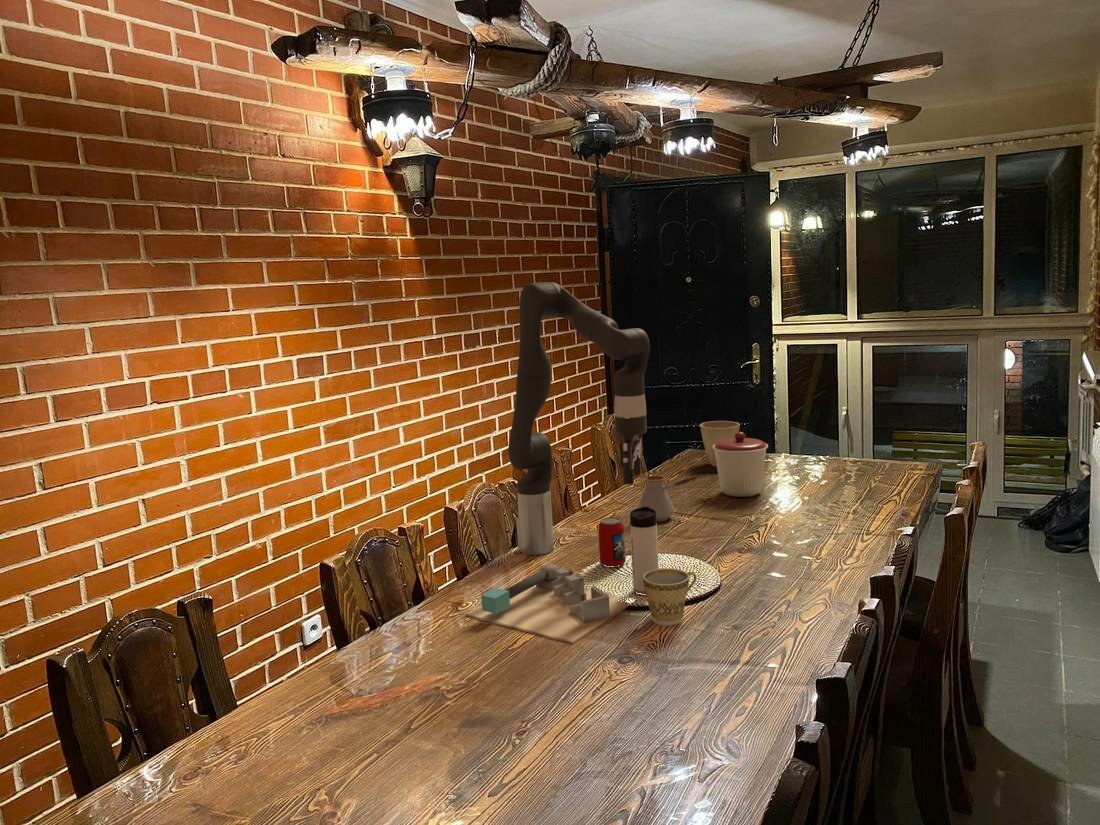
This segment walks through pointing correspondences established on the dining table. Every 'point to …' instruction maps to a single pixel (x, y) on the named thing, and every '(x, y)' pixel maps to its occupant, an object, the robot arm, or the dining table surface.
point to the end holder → (593, 607)
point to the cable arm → (515, 589)
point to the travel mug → (643, 545)
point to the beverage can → (611, 542)
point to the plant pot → (717, 435)
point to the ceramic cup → (667, 594)
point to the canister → (740, 465)
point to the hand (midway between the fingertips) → (632, 479)
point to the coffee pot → (660, 496)
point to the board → (547, 613)
